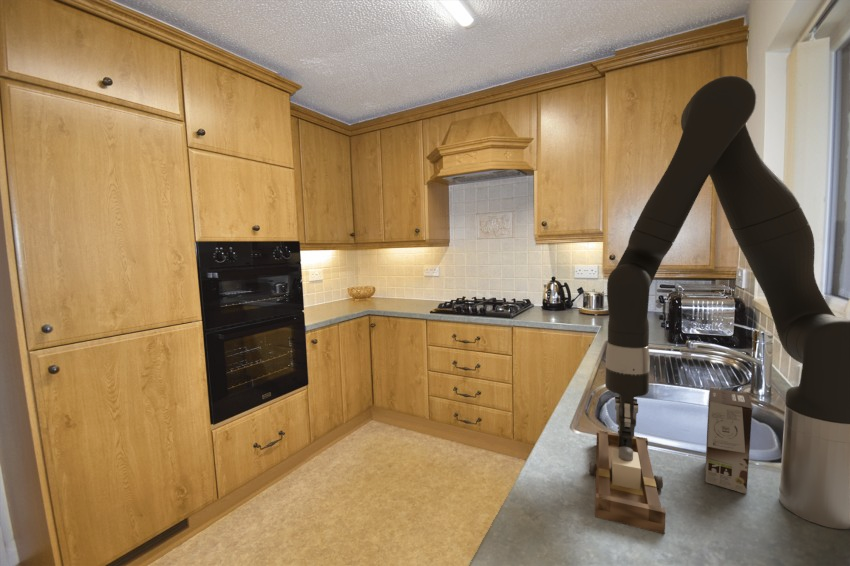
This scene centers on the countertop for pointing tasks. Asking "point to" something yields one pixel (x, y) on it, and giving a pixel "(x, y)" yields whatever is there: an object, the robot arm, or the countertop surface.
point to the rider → (626, 468)
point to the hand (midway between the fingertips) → (624, 452)
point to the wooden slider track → (623, 501)
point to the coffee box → (728, 439)
